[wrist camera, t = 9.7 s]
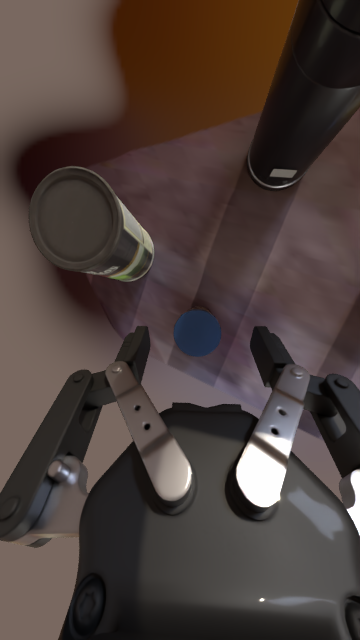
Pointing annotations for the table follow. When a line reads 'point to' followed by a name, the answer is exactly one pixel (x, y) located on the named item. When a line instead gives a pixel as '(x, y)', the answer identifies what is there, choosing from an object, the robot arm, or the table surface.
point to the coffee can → (88, 226)
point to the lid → (197, 332)
